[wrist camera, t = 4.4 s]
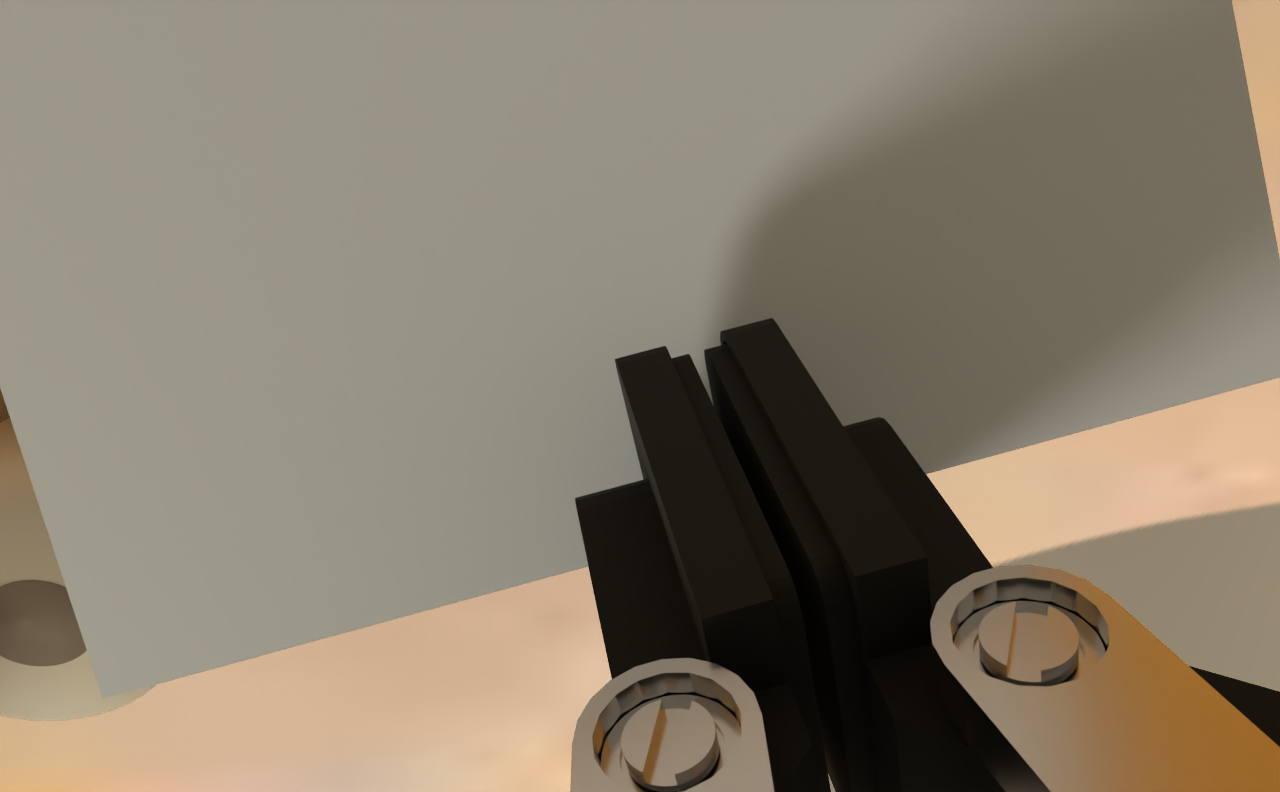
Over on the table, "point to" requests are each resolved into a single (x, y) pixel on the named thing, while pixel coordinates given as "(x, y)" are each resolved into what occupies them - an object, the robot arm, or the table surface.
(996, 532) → the table surface
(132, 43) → the lid
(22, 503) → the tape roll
